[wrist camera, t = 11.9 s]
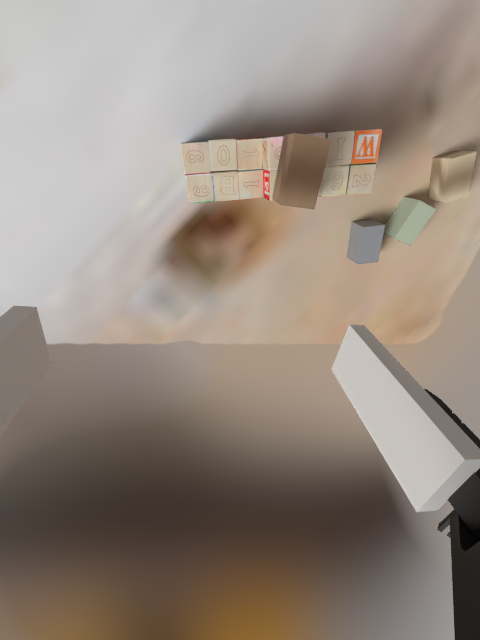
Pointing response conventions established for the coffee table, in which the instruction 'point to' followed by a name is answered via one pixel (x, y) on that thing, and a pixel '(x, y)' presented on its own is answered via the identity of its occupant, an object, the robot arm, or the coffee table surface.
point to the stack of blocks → (275, 166)
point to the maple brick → (451, 176)
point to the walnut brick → (300, 170)
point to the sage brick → (408, 220)
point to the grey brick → (365, 241)
